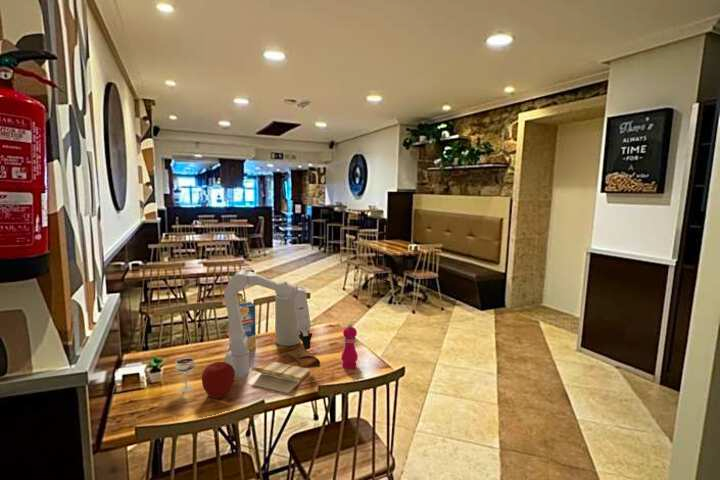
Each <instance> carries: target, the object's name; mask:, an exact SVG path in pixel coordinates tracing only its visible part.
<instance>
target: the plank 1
mask: <svg viewBox="0 0 720 480" xmlns="http://www.w3.org/2000/svg"><path fill="white" fill-rule="evenodd" d="M251 368H252V371H254V372H256V373H263V374H267V375H272V372H273V371H270V370H265V369H264V368H260V367H255V366H252V367H251ZM272 376H275V375H272ZM276 377H278V376H276Z"/></svg>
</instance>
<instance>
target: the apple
mask: <svg viewBox="0 0 720 480" xmlns="http://www.w3.org/2000/svg"><path fill="white" fill-rule="evenodd" d="M235 377H236V376H235V371H234V369H233V366H231V365H230V364H228V363H225V361H217V362H211V363H209V365H206V367H205V368H204V370H203V372H202V374H201V383H202V387H203V389H204V391H205V392H206V395H208V397H210V398H212V399H214V400H218V399H222V398H224V397H225V396H227V395H228V394H230V392H231V390H232V388H233V384H234V382H235Z"/></svg>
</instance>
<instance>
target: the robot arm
mask: <svg viewBox="0 0 720 480" xmlns="http://www.w3.org/2000/svg"><path fill="white" fill-rule="evenodd" d="M247 285H248V287H252V286H260V287H263V288H267V289H269V290H272V291H274V292H275V295H276V294H277V295H280V296H283V297H285V298H288V299H293V301H294V302H295V313H296V320H297V329H298V330H299V331H300V334H299V338H300V342H301V343H302V347H303V348H304V349H305V350H307V351H308V350H310V349H311V341H312V336H313V333H312V332H310V329H311V327H314V323H313V322H312V323H311V318H310V311H309V310H310V309H309V305H308V300H307V299H308V295H307V291H306V289H305V288H304V287H302V286H299V285H292V284H290V283H288V281H286V280H285V281H279V282H276V281H274V280H272V279H269V278H267V277H265V276H262V275H260V274H257V273H255V272H253V271H250V270H249V271H248V270H246V269H243V268H242V269H239V270H237V271H236V272H235V273H234V274H233V275H232V276H231V278H230V279H229V280H228V283H227V285H226V287H225V288H224V291H223V296H224V301H225V306H226V312H227V316H228V324H229V323H230V328H231V343H232V344H231V348H230V349H229V351H228V352H227V353H226V355H225V359H224V362H225V363H228V364H230V365H231V366H233V369H234V371H235V377H237V378H244V377H246V376H247V375H248V374H250V373H252V372H253V370H252V367H250V350H248V348H247V345H248V343H249V338H248V336H247V335H246V334H245V330H244V329H243V324H242V319H241V314H240V308H239V298H238V293H239V292H240V291H241V290H243V289H245V288H246V287H247Z"/></svg>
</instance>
